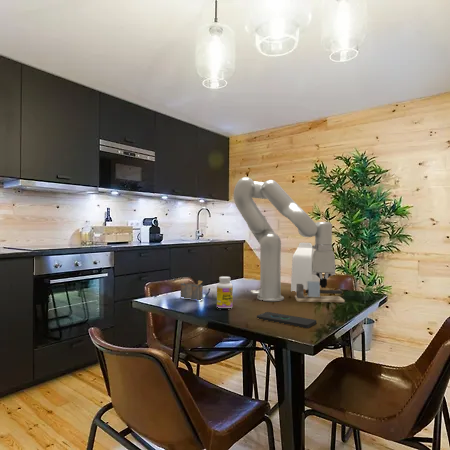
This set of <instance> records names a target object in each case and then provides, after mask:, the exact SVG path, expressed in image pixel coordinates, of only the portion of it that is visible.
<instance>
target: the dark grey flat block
mask: <svg viewBox="0 0 450 450" xmlns="http://www.w3.org/2000/svg"><path fill="white" fill-rule="evenodd" d="M257 318H259V319H263V320H262V321H265V320H268V321H267V322H270V321H274V322H273V323H275V322H279V323H278V324H281V323H284V324H283V325H286V324H290V325H289V326H291V325H294V326H293V327H297V326H299V327H298V328H302V327H303V329H309V328H311V327H312V326H315V325H317V320H316V319H313V318H306V317H301V316H295V315H290V314H282V313H276V312H271V311H266V312H263V313H260V314H258V315H256V319H257ZM259 319H258V320H259Z"/></svg>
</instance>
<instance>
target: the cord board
mask: <svg viewBox="0 0 450 450" xmlns="http://www.w3.org/2000/svg"><path fill="white" fill-rule="evenodd" d="M307 293H308V290H305V289H303V285H302V284H297V292H296V295H294V298H295V300H296V302H300V303H301V302H303V303H304V302H305V303H307V302H308V303H309V302H311V303H317V302H318V303H346V302H345V299H344V298H342V297H341V296H339V295H343V289H342V290H341V289H337V290H336V289H335V290H334V289H329V290H328V289H320V297H309V296H308V295H306V294H307ZM304 294H305V295H304ZM321 294H323V295H321ZM325 294H328V295H325ZM329 294H330V295H329ZM331 294H332V295H331ZM334 294H335V295H334ZM333 295H334V296H333ZM336 295H337V296H336Z"/></svg>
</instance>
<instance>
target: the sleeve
mask: <svg viewBox="0 0 450 450" xmlns="http://www.w3.org/2000/svg"><path fill="white" fill-rule="evenodd" d="M307 290H308V293H306V296H309V297H320V296H321V294H320V290H321V286H320V283H319V282H318V281H307Z"/></svg>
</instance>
